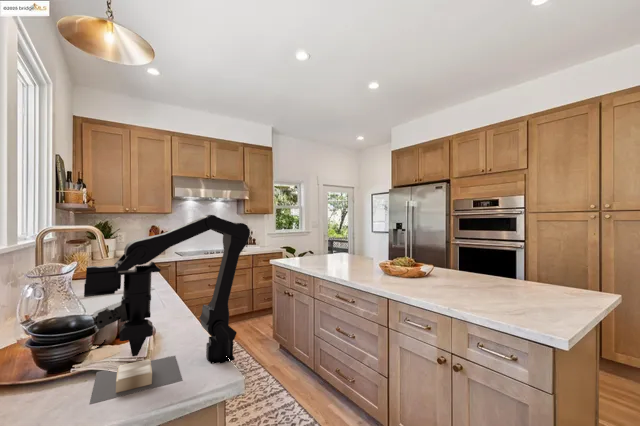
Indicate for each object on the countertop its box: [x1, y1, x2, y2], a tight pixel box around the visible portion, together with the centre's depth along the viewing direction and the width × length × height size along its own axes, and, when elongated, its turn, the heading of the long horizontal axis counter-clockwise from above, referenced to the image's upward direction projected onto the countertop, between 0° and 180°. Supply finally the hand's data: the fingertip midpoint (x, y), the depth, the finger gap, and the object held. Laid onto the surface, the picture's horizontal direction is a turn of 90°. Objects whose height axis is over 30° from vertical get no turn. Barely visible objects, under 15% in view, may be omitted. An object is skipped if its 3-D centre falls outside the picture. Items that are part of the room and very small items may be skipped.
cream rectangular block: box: [116, 358, 152, 393], centre depth 71 cm, size 7×3×8 cm
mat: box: [89, 355, 183, 405], centre depth 73 cm, size 18×15×1 cm
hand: (135, 355), depth 71 cm, fingers closed
